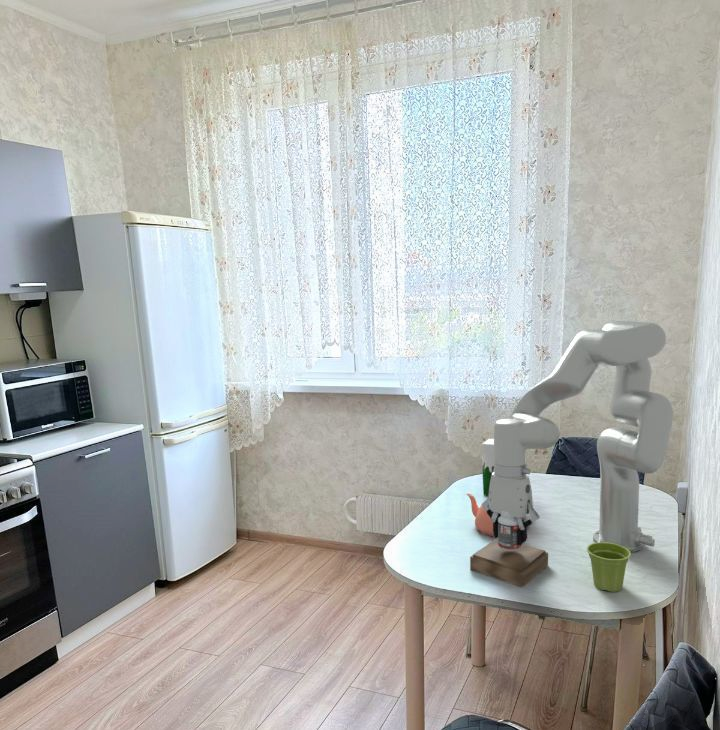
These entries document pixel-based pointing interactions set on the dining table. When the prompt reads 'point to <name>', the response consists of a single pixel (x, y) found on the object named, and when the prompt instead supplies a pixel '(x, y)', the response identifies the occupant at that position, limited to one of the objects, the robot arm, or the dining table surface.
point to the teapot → (481, 518)
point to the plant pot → (608, 565)
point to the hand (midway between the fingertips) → (509, 539)
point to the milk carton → (487, 463)
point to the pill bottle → (507, 532)
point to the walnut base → (509, 563)
